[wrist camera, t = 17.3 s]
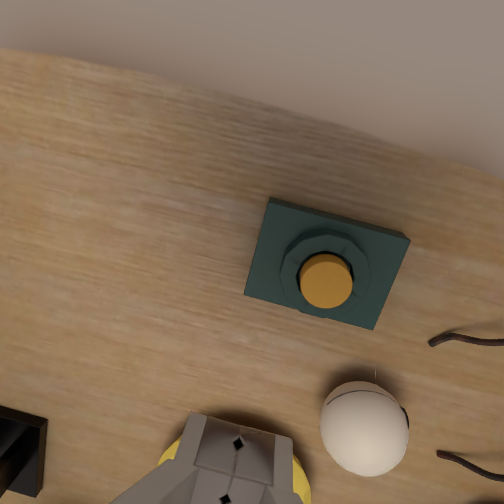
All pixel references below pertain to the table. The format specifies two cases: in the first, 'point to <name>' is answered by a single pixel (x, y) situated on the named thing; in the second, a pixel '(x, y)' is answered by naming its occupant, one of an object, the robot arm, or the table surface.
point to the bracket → (21, 452)
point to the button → (325, 281)
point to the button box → (324, 242)
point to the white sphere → (364, 428)
